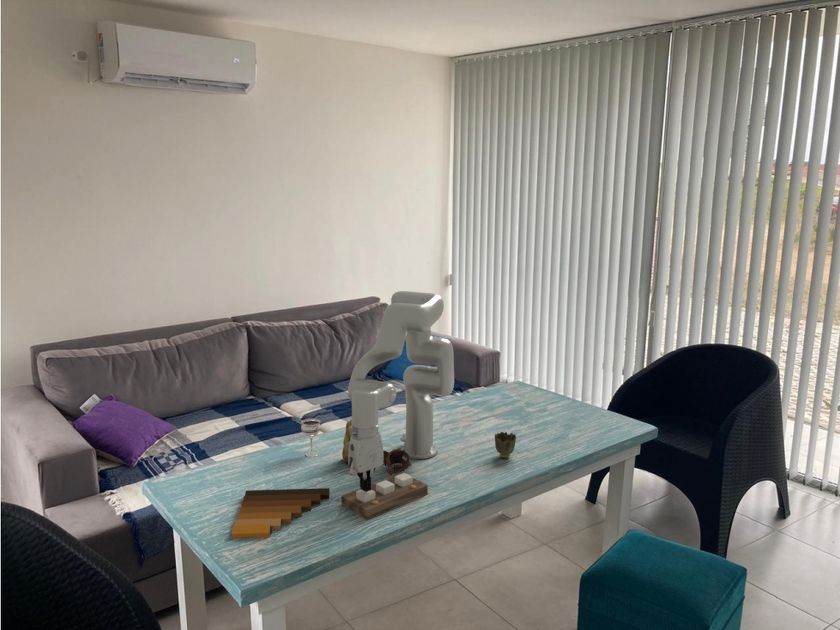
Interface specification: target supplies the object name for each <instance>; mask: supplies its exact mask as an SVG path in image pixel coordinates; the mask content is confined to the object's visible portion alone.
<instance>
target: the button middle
mask: <svg viewBox="0 0 840 630" xmlns="http://www.w3.org/2000/svg"><path fill="white" fill-rule="evenodd" d="M376 491H377V492H379V493H381V494H383V495H386V494H388V493H391V492H393V491H395V484H393V483H391V482H389V481H387V480H385V481H382V482H379V483H377V484H376Z"/></svg>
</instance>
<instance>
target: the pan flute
mask: <svg viewBox="0 0 840 630" xmlns="http://www.w3.org/2000/svg"><path fill="white" fill-rule="evenodd" d="M330 494H331V493H330V488H329V487H325V488H324V487H322V488H321V487H320V488H287V489H258V490H257V489H256V490H255V489H254V490H252V489H251V490H245V493H244V495H243V499H242V501H241V505H240V506H239V510H238V512H237V513H236V519H234V525H233V526H232V531H231V533H232V534H231V536H232V539H245V538H247V539H248V538H249V539H250V538H271V534H272V531H281V530H282V527H283V524H292V521H293V518H300V517H302V515H303V512H307V511H312V506H316V505H317V506H318V505H321V500H325V499H326V500H327V499H330Z"/></svg>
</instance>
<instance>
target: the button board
mask: <svg viewBox="0 0 840 630" xmlns="http://www.w3.org/2000/svg"><path fill="white" fill-rule="evenodd" d="M403 473H404V472H401V473H397V474H393V475H392V476H391V475H390V476H389V477H386V478H384V479H381V480H378V481H376V482H373V483H371V490H373V491H375V499H374V500H371V501H369V502H366V503H363V502H362V501H360V500H358V499H356V491H359V490H361V489H360V488H358V489H355V490H353V491H350V492H346V493H345V494H343V495H340V496H341V498H340V499H341V502H340V505H341V506H343V507H344V508H346V509H347V510H349V511H351V512H353V513H354V514H356V515H358V516H359V517H361V518H363V519H365V520H366V521H368V520H370V519H372V518H375V517H378V516H379V515H381V514H384V513H386V512H389V511H391V510H393V509H396V508H398V507H401V506H402V505H405V504H408V503H409V502H412V501H414V500H417V499H418V498H421V497H423V496H427V495H428V494H429V493H428V492H429V487H428V486H429V485H428V484H427V483H425V482H422V481H421V480H418V479H417V478H415V477H413V484H411V485H408V486H406V487H401V486H399V485H397V484H395V476H397V475H400V474H403ZM385 480H387V481H389V482H391V483H393V484H395V491H393V492H391V493H388V494H386V495H383V494H381V493H379V492H377V491H376V484H377V483H379V482H382V481H385Z"/></svg>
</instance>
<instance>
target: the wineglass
mask: <svg viewBox="0 0 840 630" xmlns="http://www.w3.org/2000/svg"><path fill="white" fill-rule="evenodd" d="M300 423H301V428H300V430H301V432H302V434H303V435H305V436H307V437H309V439H310V440H309V441H310V451H307V452H305V453H306V454H305V453H304V456H305V455H306V456H307V458H314V456H315V457H318V456H319V455H318V453H319V452H317V451H313V438H314V437H315V436H317V435H318V434H319V433H320V432H321V429H322V428H321V427H322V426H321V424H320V423H321V420H320V419H319V418H314V417H313V418H305V419H303V420H301V422H300ZM306 456H305V457H306Z"/></svg>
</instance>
